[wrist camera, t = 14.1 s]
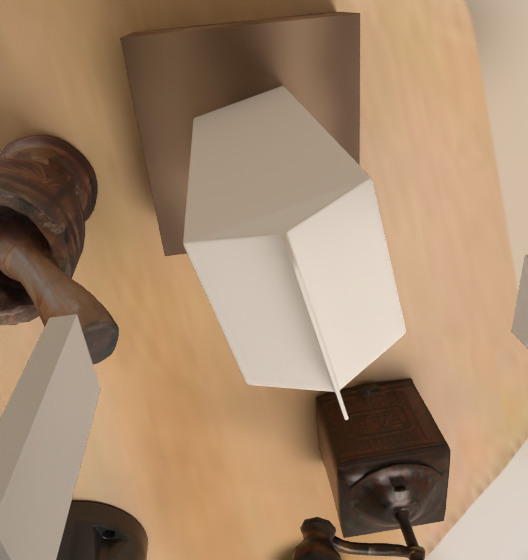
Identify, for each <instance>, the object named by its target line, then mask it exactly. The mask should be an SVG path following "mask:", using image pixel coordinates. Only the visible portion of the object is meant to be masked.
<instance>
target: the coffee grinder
mask: <svg viewBox="0 0 528 560" xmlns="http://www.w3.org/2000/svg"><path fill="white" fill-rule="evenodd" d="M340 394H341V397H342V400H343V403H344V406H345V409H346V412H347V415H348V420H345V419H344V416H343V413H342V410H341V407H340V404H339V401H338V398H337V395H336V393H335V392H331V393H328V394H325V395H322V396H319V397H317V404H316V420H317V431H318V440H319V448H320V452H321V456H322V459H323V463H324V466H325V469H326V472H327V475H328V479H329V482H330V486H331V490H332V494H333V497H334V501H335V505H336V509H337V513H338V518H339V522H340V526H341V530H342V533H343V537H344V538H346V537H352V536H359V535H365V534H371V533H376V532H382V531H388V530H394V529H400V528H401V530H402V533H403V536H404V538H405V541H406V544H407V546H403V545H398V544H387V543H357V542H349V541H345V540H342V539H340V538H338V537H336V536H335V532H336V529H335V527H334V526H333V525H332V524H331V522H330V521H328V520H325V519H322V518H319V517H315V518H310V519H306V520H304V522H303V524H302V526H301V532H302V534H303V537H304V540H303V541H302V542H301V543H300V544H299V545H298V546H297V547H296V549H295V551H294V553H293V556H292V560H341V558H340V555H339V554H338V553H337V551H338V552H342V553H347V554H355V555H372V556H398V557H407V558H409V560H424V559H425V550H424V548H423V547H420V546H419V545H418V543H417V540H416V538H415V535H414V532H413V530H412V527H411V526H417V525H423V524H428V523H434V522H440V521H444V516H445V510H446V498H447V488H448V478H449V467H450V448H449V446H448V444H447V442H446V441H445V439H444V437H443V435H442V434H441V432H440V430H439V428H438V426H437V424H436V423H435V421H434V419H433V417H432V415H431V414H430V412H429V410H428V408H427V406H426V405H425V403H424V401H423V399H422V398H421V396H420V394H419V392H418V391H417V389H416V387H415V385H414V383H413V381H412V379H408V380H400V381H392V382H383V383H373V384H365V385H360V386H356V387H354V388H349V389H344V390H340Z"/></svg>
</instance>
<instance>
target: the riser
mask: <svg viewBox="0 0 528 560" xmlns="http://www.w3.org/2000/svg"><path fill="white" fill-rule="evenodd" d="M120 39H121V44H122V49H123V54H124V59H125V64H126V69H127V74H128V78H129V83H130V88H131V93H132V98H133V103H134V108H135V113H136V117H137V122H138V127H139V132H140V137H141V142H142V147H143V152H144V156H145V161H146V166H147V171H148V176H149V181H150V186H151V191H152V195H153V200H154V205H155V210H156V215H157V220H158V225H159V230H160V235H161V239H162V244H163V249H164V254H165V256H170V255H178V254H186V253H187V252H186V250H185V247H184V244H183V238H184V226H185V214H186V202H187V191H188V179H189V167H190V155H191V143H192V131H193V120H194V118H195V117H198V116H201V115H204V114H206V113H209V112H212V111H215V110H217V109H220V108H223V107H226V106H228V105H231V104H234V103H237V102H239V101H242V100H245V99H247V98H250V97H253V96H256V95H258V94H261V93H264V92H267V91H269V90H272V89H275V88H278V87H280V86H284V87H285V88H286V89H287V90H288V91H289V92H290V93H291V94H292V95H293V96H294V98H295V99H296V100H297V101H298V102H299V103H300V104H301V105H302V106H303V107H304V108H305V109H306V110H307V111H308V112H309V113H310V114H311V115H312V116H313V117H314V118H315V119H316V120H317V122H318V123H319V124H320V125H321V126H322V127H323V128H324V129H325V130H326V131H327V132H328V133H329V134H330V135H331V136H332V137H333V138H334V139H335V140H336V141H337V142H338V143H339V145H340V146H341V147H342V148H343V149H344V150H345V151H346V152H347V153H348V154H349V155H350V156H351V157H352V158H353V159H354V160H355V161H356V162H357V163H358V164H359V144H360V13H348V12H329V13H319V14H309V15H300V16H290V17H280V18H271V19H261V20H251V21H241V22H232V23H222V24H212V25H203V26H193V27H183V28H173V29H164V30H154V31H144V32H135V33H131V34H129V35H126V36H124V37H122V38H120Z"/></svg>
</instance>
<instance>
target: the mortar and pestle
mask: <svg viewBox="0 0 528 560" xmlns="http://www.w3.org/2000/svg"><path fill="white" fill-rule="evenodd" d="M96 197H97V180H96V175H95V172H94V170H93V168H92V166H91V165H90V163H89V162H88V161H87V159H86V158H85V157H84V156H83V155H82V154H81V153H80V152H79V151H78V150H76V149H75V148H74V147H72V146H71V145H70V144H68V143H66V142H65V141H63V140H61V139H59V138H55V137H52V136H44V135H36V136H30V137H26V138H22V139H19V140H16V141H14V142H12V143H10V144H9V145H7V146H6V147H5V148H4V150H3V151H2V153H1V155H0V325H16V324H18V323H21V322H29V321H31V320H33V319H35V318H37V317H38V316H40V318H41V320H42V322H43V324H44V326H46V324H47V322H48V319H49V318H51V317H59V316H66V315H74V314H77V316H78V319H79V322H80V326H81V329H82V332H83V335H84V338H85V341H86V344H87V348H88V351H89V354H90V357H91V360H92V363H93V364H97V363H99V362H101V361H102V360H104V359H105V358H107V357H108V356H110V355H111V354H112V352H113V351H114V349H115V347H116V344H117V340H118V335H119V328H118V326H117V324H116V323H115V321H114V320H113V318H112V316H111V315H110V314H109V312H108V311H107V310H106V308H105V307H104V306H103V305H102V304H101V303H100V302H99V301H98V300H97V299H96V298H95V297H94V296H93V295H92V294H91V293H90V292H88V291H87V290H86V289H85V288H84V287H83V286H81V285H80V284H78V283H77V282H75V281H74V280H72V276H73V273H74V271H75V268H76V266H77V263H78V261H79V258H80V256H81V253H82V250H83V246H84V238H85V221H86V220H87V219H88V218H89V217H90V215H91V214H92V212H93V210H94V207H95V203H96Z"/></svg>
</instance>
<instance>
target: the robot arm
mask: <svg viewBox="0 0 528 560" xmlns="http://www.w3.org/2000/svg"><path fill="white" fill-rule="evenodd" d="M511 332H512V333H513V334H514V335H515V336H516V337H517V338H518V339H519V340H520V341H521V342H522V343H523V344H524V345H525V346H526V348H527V349H528V255H525V258H524V264H523V269H522V275H521V281H520V286H519V292H518V297H517V303H516V308H515V314H514V320H513V325H512V331H511ZM100 390H101V389H100V385H99V382H98V379H97V376H96V373H95V370H94V367H93V363H92V360H91V357H90V354H89V351H88V348H87V344H86V341H85V338H84V335H83V332H82V329H81V326H80V322H79V319H78V316H77V314H74V315H66V316H59V317H51V318H49V319H48V322H47V324H46V326H45V328H44V330H43V332H42V334H41V336H40V338H39V340H38V342H37V344H36V346H35V348H34V350H33V352H32V354H31V356H30V359H29V361H28V363H27V365H26V367H25V369H24V371H23V373H22V375H21V377H20V379H19V381H18V383H17V385H16V387H15V389H14V391H13V393H12V396H11V398H10V400H9V402H8V404H7V406H6V408H5V410H4V412H3V414H2V416H1V418H0V560H146V559H147V549H148V539H147V535H146V533H145V531H144V529H143V527H142V526H141V525H140V524H139V523H138V521H136V520H135V519H134V518H133V517H132V516H130V515H129V514H127V513H125V512H123V511H121V510H119V509H117V508H114V507H111V506H108V505H104V504H99V503H92V502H71V501H72V497H73V493H74V489H75V486H76V482H77V478H78V474H79V470H80V466H81V463H82V459H83V455H84V451H85V447H86V444H87V440H88V436H89V432H90V428H91V424H92V421H93V417H94V413H95V409H96V405H97V401H98V398H99V394H100Z"/></svg>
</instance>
